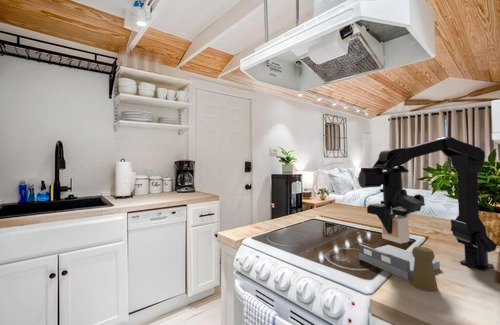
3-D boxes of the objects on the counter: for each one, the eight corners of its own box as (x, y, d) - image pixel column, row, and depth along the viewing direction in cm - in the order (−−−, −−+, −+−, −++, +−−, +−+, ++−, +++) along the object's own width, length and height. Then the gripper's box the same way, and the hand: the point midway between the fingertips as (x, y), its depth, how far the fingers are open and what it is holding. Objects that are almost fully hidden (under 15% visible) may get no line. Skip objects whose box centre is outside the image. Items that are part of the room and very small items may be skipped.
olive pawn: (412, 278, 72) (411, 242, 72) (438, 284, 69) (436, 246, 69) (410, 287, 68) (409, 249, 68) (437, 293, 64) (435, 253, 64)
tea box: (409, 241, 78) (408, 217, 78) (399, 243, 76) (398, 219, 76) (390, 235, 84) (389, 213, 84) (381, 238, 82) (380, 215, 82)
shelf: (388, 251, 94) (388, 237, 94) (439, 268, 78) (438, 252, 78) (359, 259, 88) (358, 244, 88) (407, 280, 71) (406, 262, 71)
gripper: (396, 191, 69) (399, 244, 69) (435, 185, 76) (438, 234, 76) (364, 188, 79) (367, 234, 79) (401, 183, 86) (403, 226, 86)
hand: (394, 232), depth 80 cm, fingers closed on tea box, 5 cm apart
